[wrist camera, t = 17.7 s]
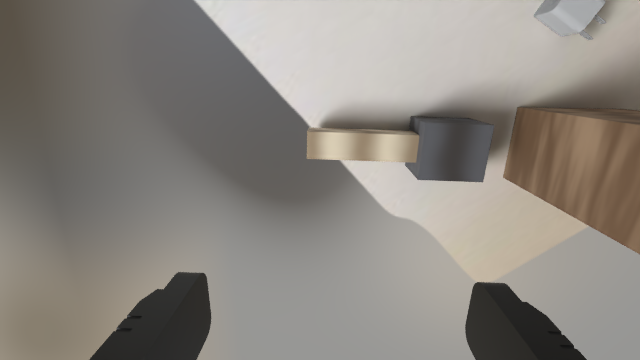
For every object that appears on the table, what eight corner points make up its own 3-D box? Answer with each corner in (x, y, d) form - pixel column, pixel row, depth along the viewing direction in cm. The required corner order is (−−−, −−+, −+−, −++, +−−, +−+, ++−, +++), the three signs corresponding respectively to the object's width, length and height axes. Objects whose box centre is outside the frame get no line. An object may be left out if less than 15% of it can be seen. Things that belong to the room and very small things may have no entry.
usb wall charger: (554, -14, 38) (580, -25, 34) (596, 18, 39) (625, 12, 35) (531, 17, 39) (553, 10, 35) (572, 48, 40) (598, 45, 36)
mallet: (309, 161, 45) (305, 175, 39) (310, 113, 43) (306, 119, 37) (460, 167, 45) (482, 182, 38) (468, 118, 43) (494, 125, 36)
